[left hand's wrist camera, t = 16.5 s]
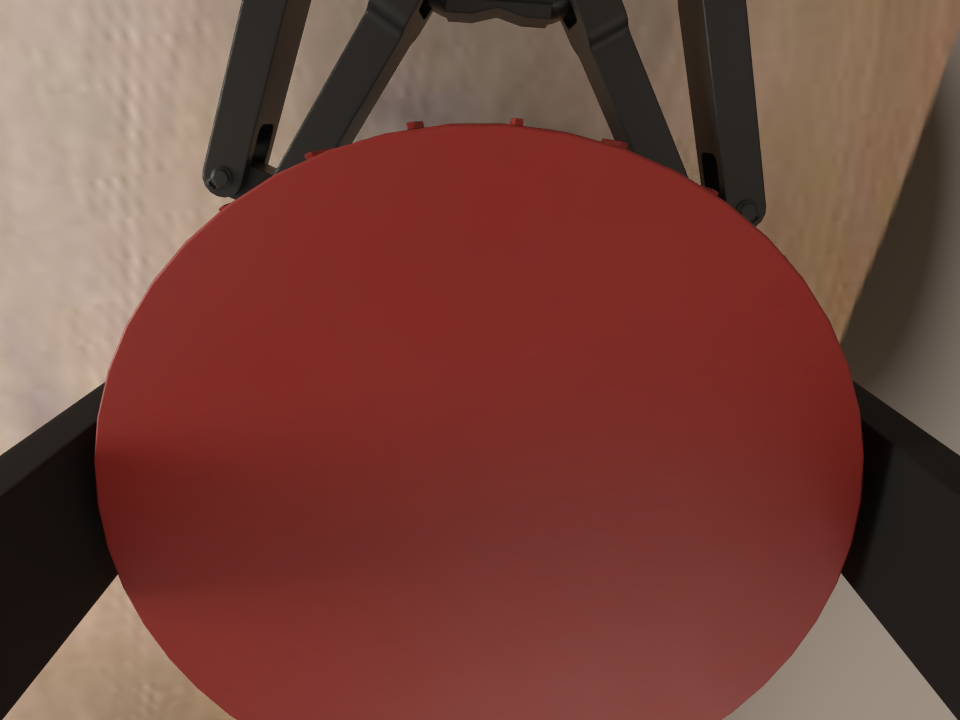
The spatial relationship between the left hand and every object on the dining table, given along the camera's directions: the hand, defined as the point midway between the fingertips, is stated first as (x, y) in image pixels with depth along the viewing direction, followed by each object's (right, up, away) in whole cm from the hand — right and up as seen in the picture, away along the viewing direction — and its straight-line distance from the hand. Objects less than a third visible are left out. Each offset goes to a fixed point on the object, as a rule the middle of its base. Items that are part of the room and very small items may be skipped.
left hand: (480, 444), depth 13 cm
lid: (0, -1, -2) cm, 2 cm away
